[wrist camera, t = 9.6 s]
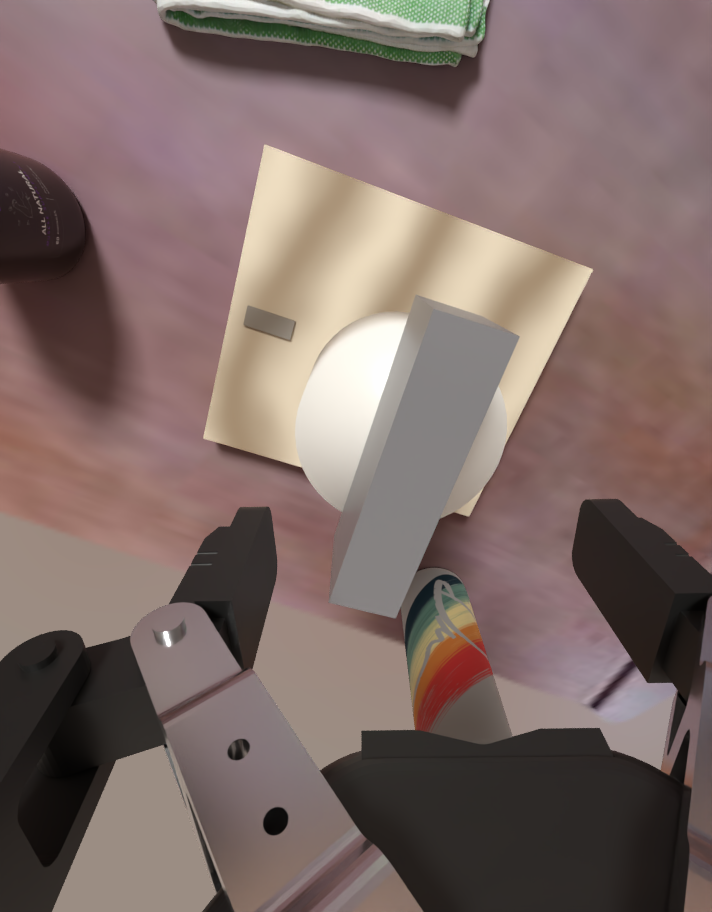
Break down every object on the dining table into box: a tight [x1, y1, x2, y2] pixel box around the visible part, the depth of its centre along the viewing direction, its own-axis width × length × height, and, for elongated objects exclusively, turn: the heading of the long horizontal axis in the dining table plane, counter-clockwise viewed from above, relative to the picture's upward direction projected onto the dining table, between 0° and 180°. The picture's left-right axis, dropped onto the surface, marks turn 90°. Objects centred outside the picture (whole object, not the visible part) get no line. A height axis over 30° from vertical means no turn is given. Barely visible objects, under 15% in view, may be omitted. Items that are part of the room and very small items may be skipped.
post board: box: [203, 145, 593, 517], centre depth 27 cm, size 20×18×10 cm
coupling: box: [295, 295, 520, 619], centre depth 18 cm, size 10×8×9 cm
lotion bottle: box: [401, 568, 512, 744], centre depth 31 cm, size 6×6×20 cm
